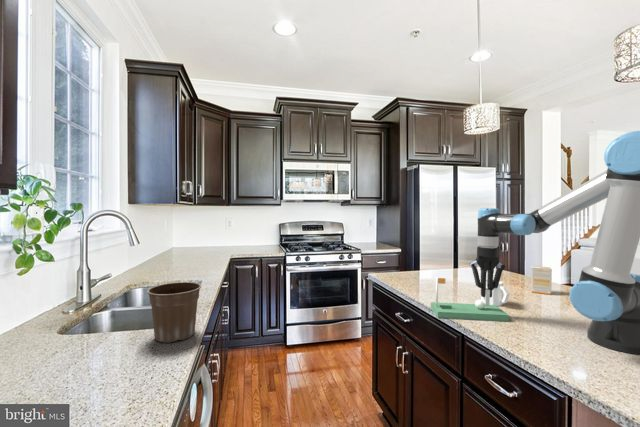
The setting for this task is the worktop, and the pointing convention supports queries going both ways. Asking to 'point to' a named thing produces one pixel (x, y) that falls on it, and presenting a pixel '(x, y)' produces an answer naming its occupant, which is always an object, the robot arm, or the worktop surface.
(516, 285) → the worktop surface
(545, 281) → the supplement box
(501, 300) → the mug
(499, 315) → the putting strip
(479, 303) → the ball
